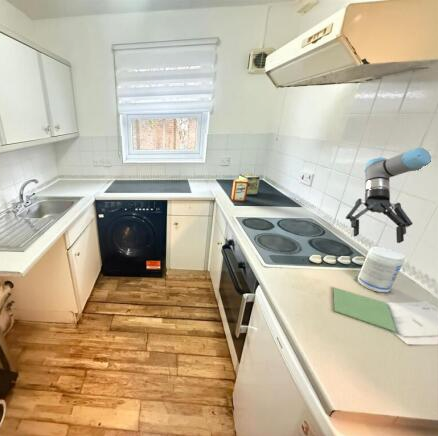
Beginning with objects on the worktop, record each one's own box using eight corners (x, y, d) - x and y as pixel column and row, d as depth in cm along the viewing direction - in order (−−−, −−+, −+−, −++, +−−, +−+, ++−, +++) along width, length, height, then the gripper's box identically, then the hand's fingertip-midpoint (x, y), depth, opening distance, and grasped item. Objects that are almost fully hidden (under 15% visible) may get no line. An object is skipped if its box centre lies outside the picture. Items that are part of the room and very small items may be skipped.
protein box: (245, 196, 197) (248, 177, 191) (236, 190, 212) (239, 173, 205) (257, 195, 198) (260, 177, 192) (248, 190, 212) (250, 173, 206)
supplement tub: (393, 296, 86) (410, 262, 80) (359, 288, 90) (374, 255, 84) (384, 281, 94) (399, 249, 88) (354, 274, 98) (366, 243, 92)
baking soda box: (243, 198, 190) (246, 179, 184) (245, 201, 184) (248, 181, 178) (231, 198, 192) (233, 178, 185) (232, 200, 186) (235, 180, 179)
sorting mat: (386, 304, 82) (387, 303, 82) (395, 332, 72) (396, 331, 72) (333, 288, 90) (333, 287, 90) (334, 311, 80) (335, 310, 79)
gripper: (410, 199, 99) (413, 247, 92) (337, 192, 109) (335, 235, 102) (423, 191, 92) (427, 241, 86) (344, 184, 102) (343, 229, 95)
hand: (377, 238), depth 94 cm, fingers open, 13 cm apart
